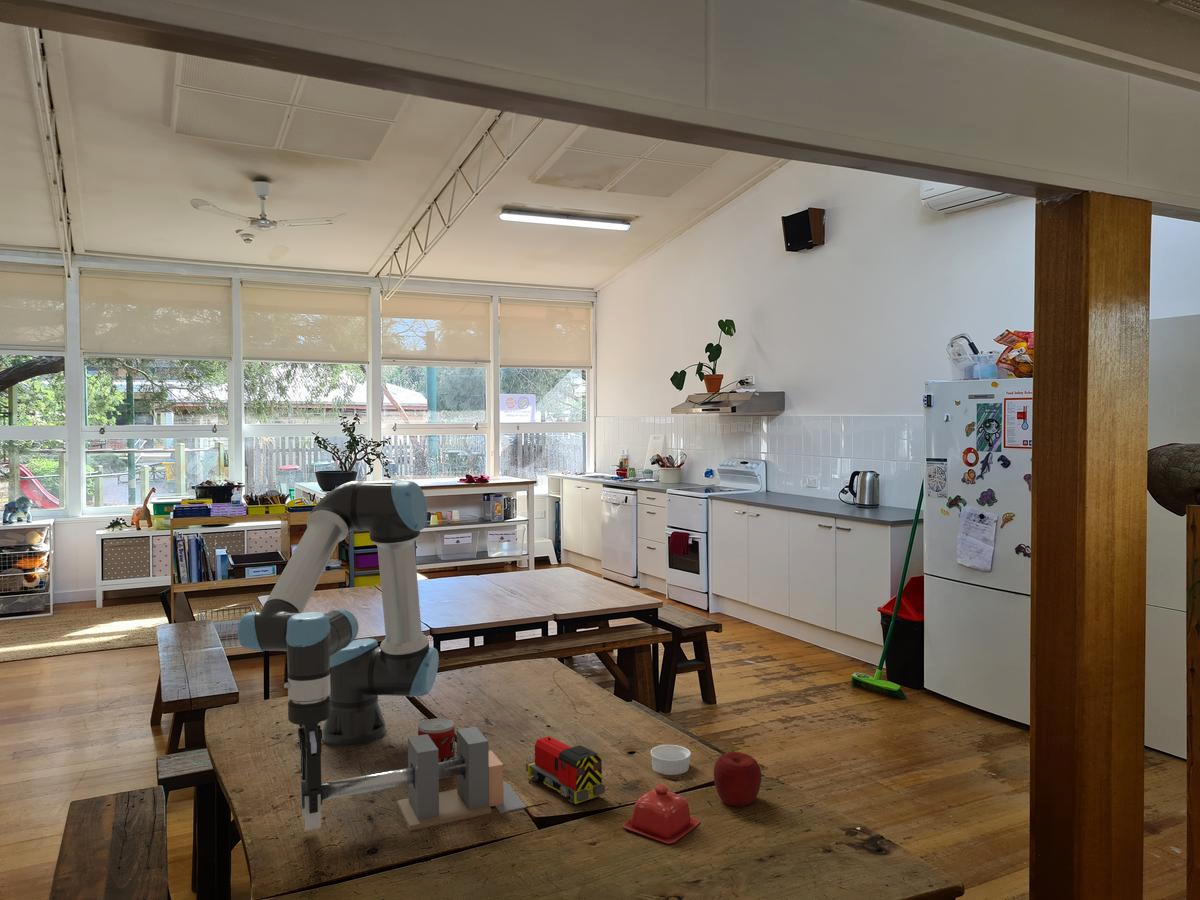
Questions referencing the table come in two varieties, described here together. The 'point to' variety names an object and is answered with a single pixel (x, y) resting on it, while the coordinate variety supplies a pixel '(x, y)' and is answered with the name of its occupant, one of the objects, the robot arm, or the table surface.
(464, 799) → the bearing frame
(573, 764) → the toy train
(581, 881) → the table surface
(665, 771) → the ramekin
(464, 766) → the shaft
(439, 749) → the canned food
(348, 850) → the table surface
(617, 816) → the table surface
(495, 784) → the block
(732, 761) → the apple
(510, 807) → the mat
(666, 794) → the butter dish
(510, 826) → the table surface
